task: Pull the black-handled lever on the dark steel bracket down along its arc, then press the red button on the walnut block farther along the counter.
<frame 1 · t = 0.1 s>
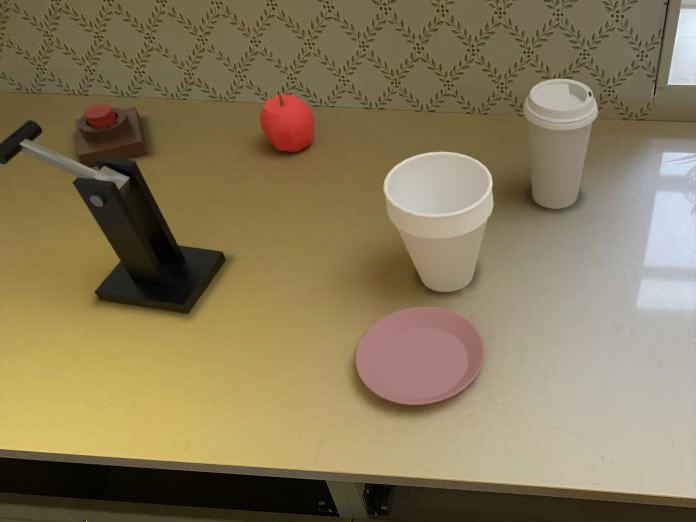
bracket: (164, 279, 82), on the worktop
button block: (114, 142, 102), on the worktop
button: (100, 116, 98), point 4 cm above the worktop, slide at 0.1 cm
plate: (422, 364, 74), on the worktop
coffee cup: (554, 196, 93), on the worktop
cup: (447, 274, 83), on the worktop
lever: (67, 165, 70), point 16 cm above the worktop, hinge at 25.0°
apple: (294, 145, 102), on the worktop
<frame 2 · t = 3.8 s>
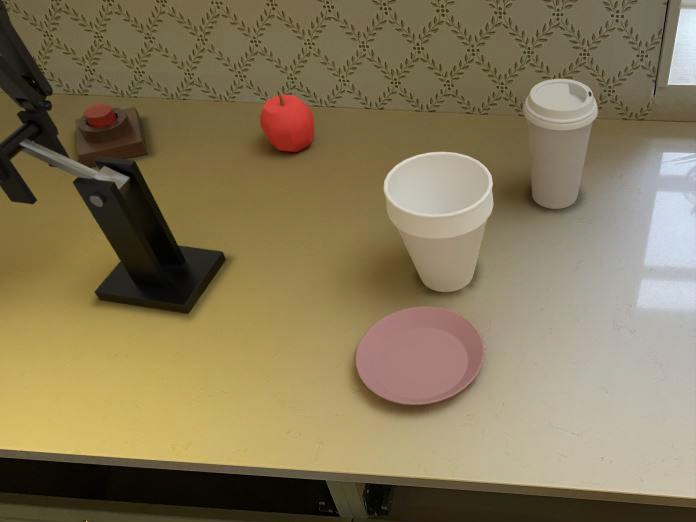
hand: (43, 182, 73), 13 cm above the worktop, tool pointing down, fingers closed on lever, 6 cm apart
lever: (67, 165, 70), point 16 cm above the worktop, hinge at 25.0°, touching gripper
everything else where it was.
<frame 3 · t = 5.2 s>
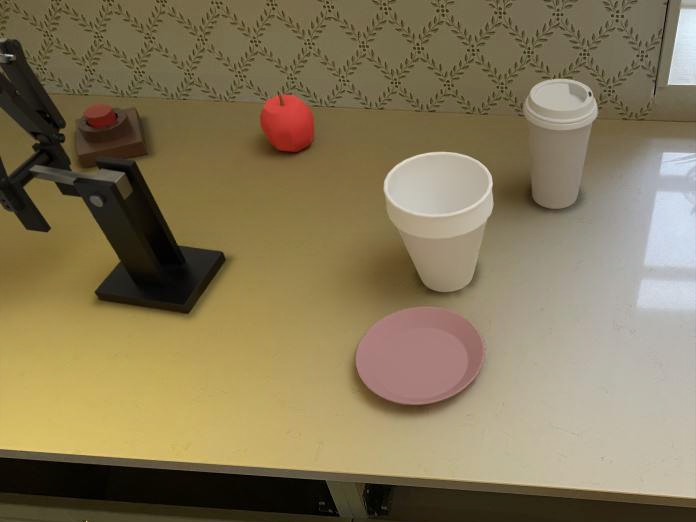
hand: (56, 210, 77), 9 cm above the worktop, tool pointing down, fingers closed on lever, 6 cm apart
lever: (72, 178, 72), point 14 cm above the worktop, hinge at 3.5°, touching gripper
everything else where it was.
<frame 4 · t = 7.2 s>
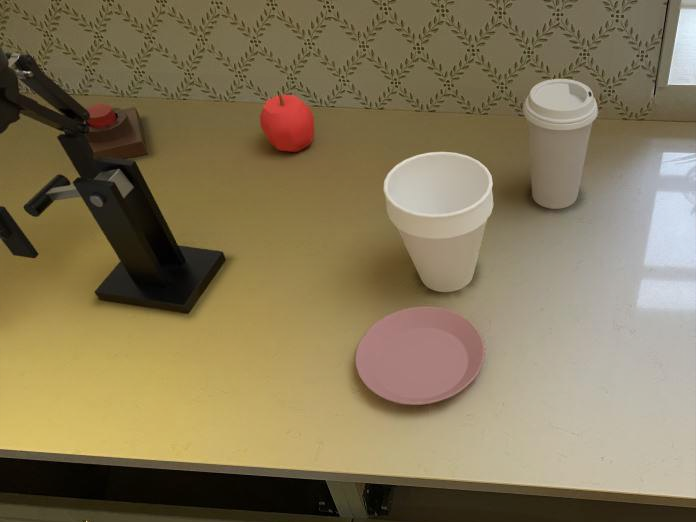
hand: (63, 217, 77), 8 cm above the worktop, tool pointing down, fingers open, 13 cm apart
lever: (80, 190, 73), point 13 cm above the worktop, hinge at -15.3°
everything else where it was.
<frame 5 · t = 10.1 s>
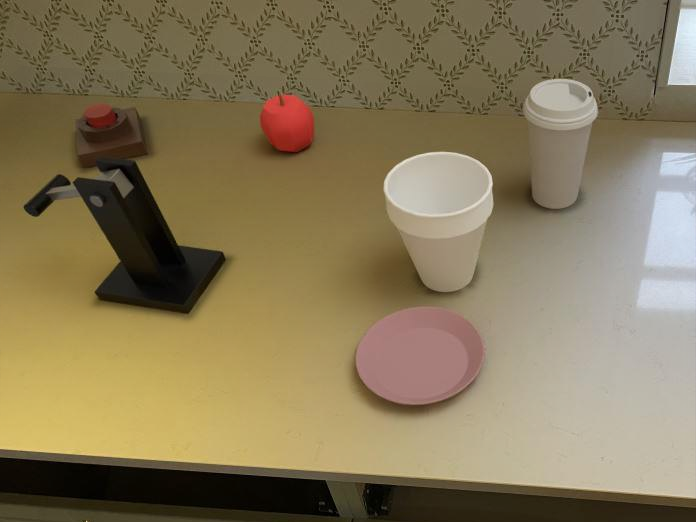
nothing on the worktop moved.
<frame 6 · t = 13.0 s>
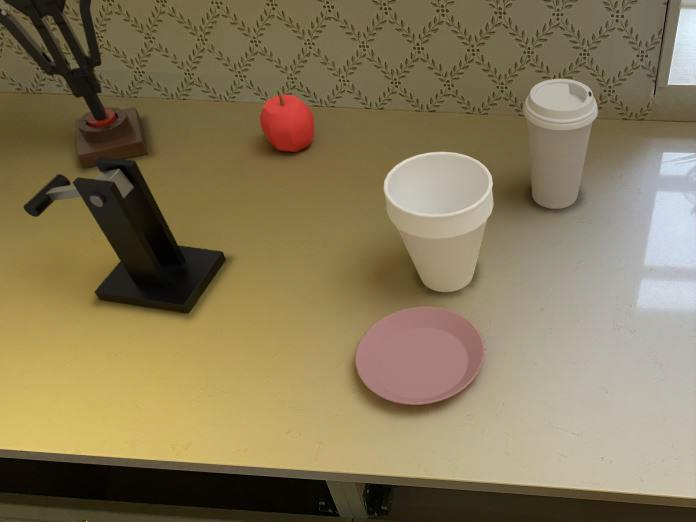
hand: (100, 114, 98), 5 cm above the worktop, tool pointing down, fingers closed
button: (103, 121, 99), point 4 cm above the worktop, slide at -0.8 cm, touching gripper
everything else where it was.
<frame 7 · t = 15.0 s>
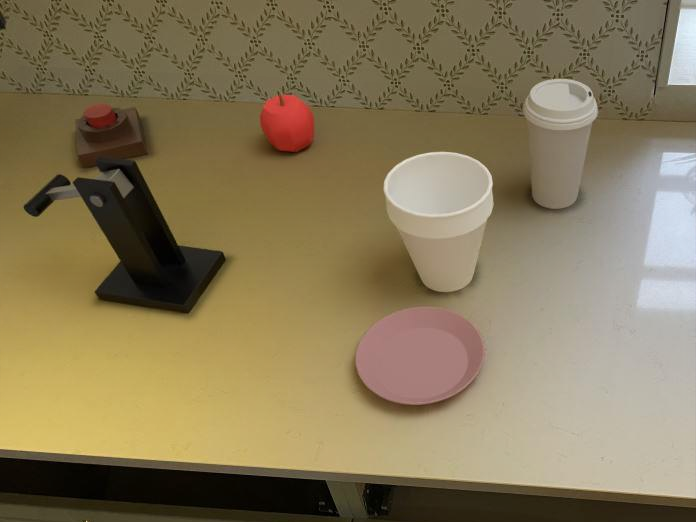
button: (100, 116, 98), point 4 cm above the worktop, slide at 0.1 cm
everything else where it was.
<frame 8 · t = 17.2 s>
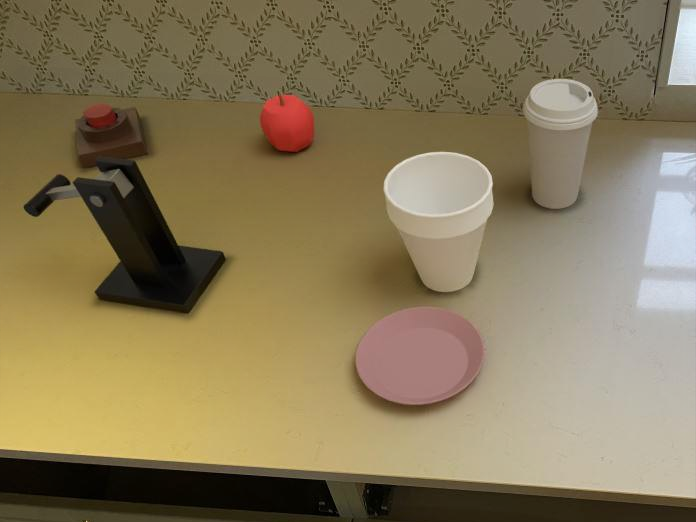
nothing on the worktop moved.
at the end: lever at -15° (first picture: +25°); button pushed in 1.0 cm at the most during the clip, back to where it started at the end; button slide at 0.1 cm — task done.
